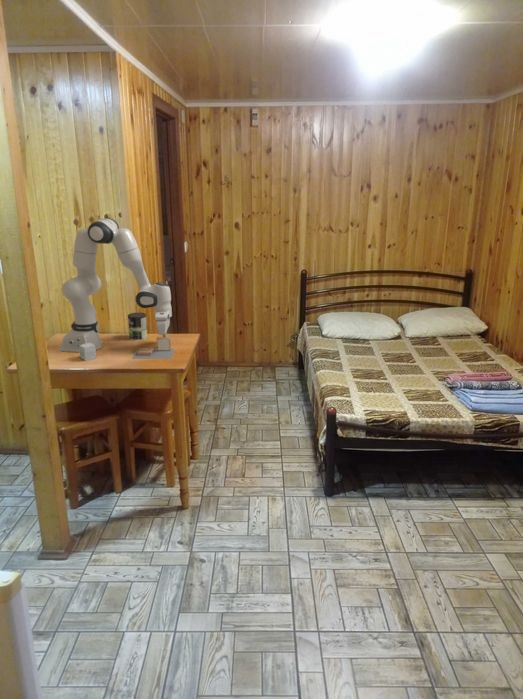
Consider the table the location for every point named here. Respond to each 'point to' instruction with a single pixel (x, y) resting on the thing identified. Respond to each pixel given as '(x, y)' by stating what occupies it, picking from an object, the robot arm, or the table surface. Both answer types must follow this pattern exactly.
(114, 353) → the table surface
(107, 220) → the robot arm
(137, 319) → the coffee can
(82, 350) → the skincare box
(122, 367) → the table surface
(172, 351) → the mat
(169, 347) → the tile
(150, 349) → the tile
